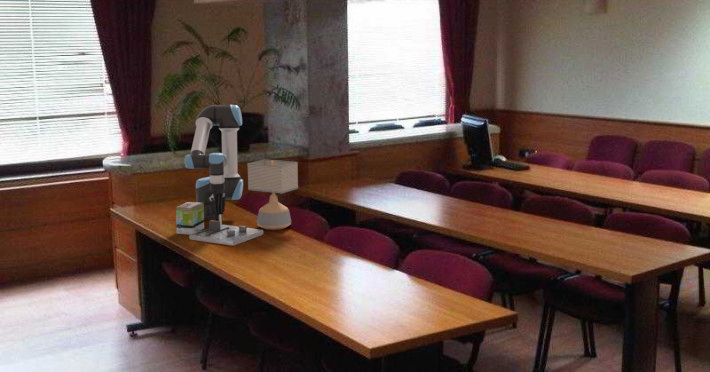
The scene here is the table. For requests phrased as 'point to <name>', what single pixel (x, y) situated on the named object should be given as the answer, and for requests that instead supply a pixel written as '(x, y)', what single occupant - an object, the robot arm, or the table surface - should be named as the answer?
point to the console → (227, 235)
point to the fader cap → (214, 225)
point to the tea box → (190, 217)
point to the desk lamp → (273, 190)
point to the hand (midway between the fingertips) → (218, 226)
